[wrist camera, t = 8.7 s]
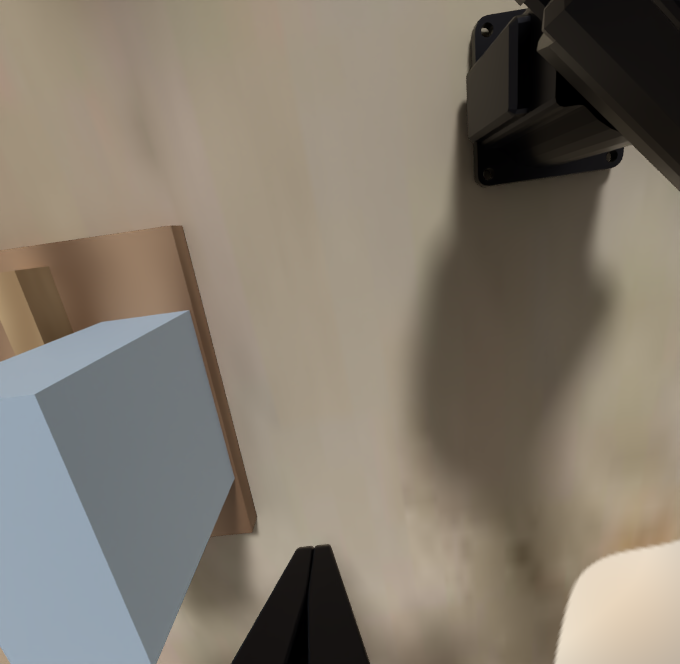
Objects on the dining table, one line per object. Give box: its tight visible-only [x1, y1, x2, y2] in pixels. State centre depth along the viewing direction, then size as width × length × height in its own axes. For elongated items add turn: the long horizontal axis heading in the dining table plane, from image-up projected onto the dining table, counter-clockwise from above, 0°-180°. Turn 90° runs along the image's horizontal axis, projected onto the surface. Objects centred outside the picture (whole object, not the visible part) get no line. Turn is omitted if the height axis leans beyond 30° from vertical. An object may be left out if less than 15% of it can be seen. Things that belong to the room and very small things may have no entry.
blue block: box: [0, 310, 235, 664], centre depth 14 cm, size 4×10×9 cm, turn 8°
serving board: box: [0, 226, 257, 537], centre depth 18 cm, size 12×18×3 cm
